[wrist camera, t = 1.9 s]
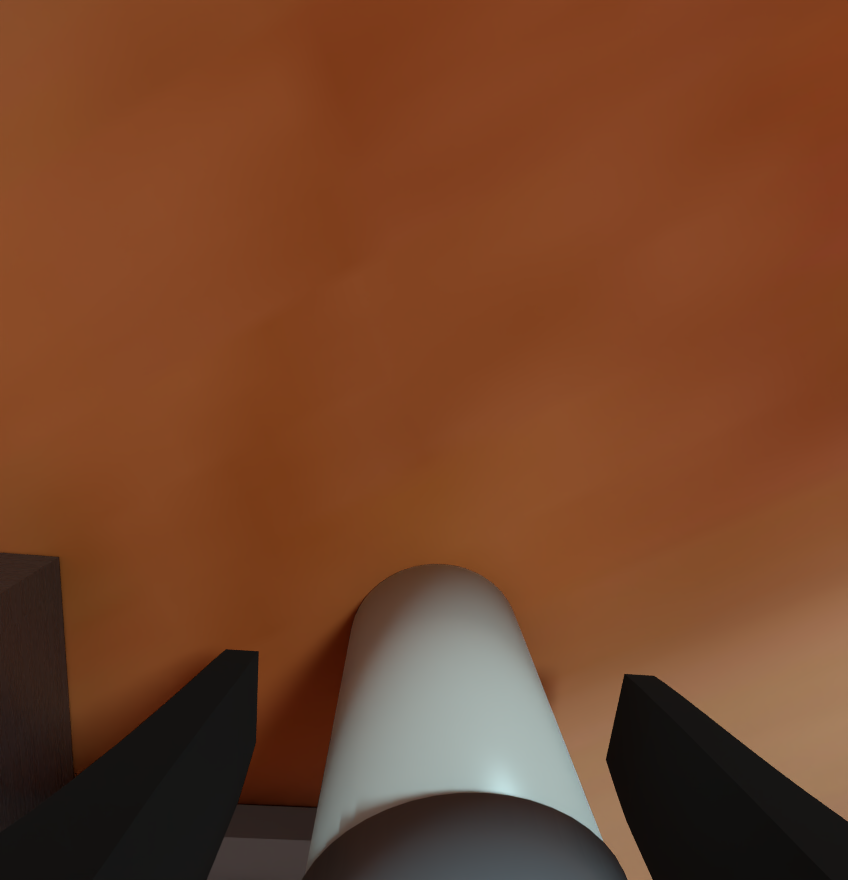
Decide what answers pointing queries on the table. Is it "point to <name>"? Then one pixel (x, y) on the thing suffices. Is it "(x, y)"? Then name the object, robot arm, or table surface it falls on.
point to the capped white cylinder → (448, 747)
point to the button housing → (32, 686)
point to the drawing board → (265, 844)
